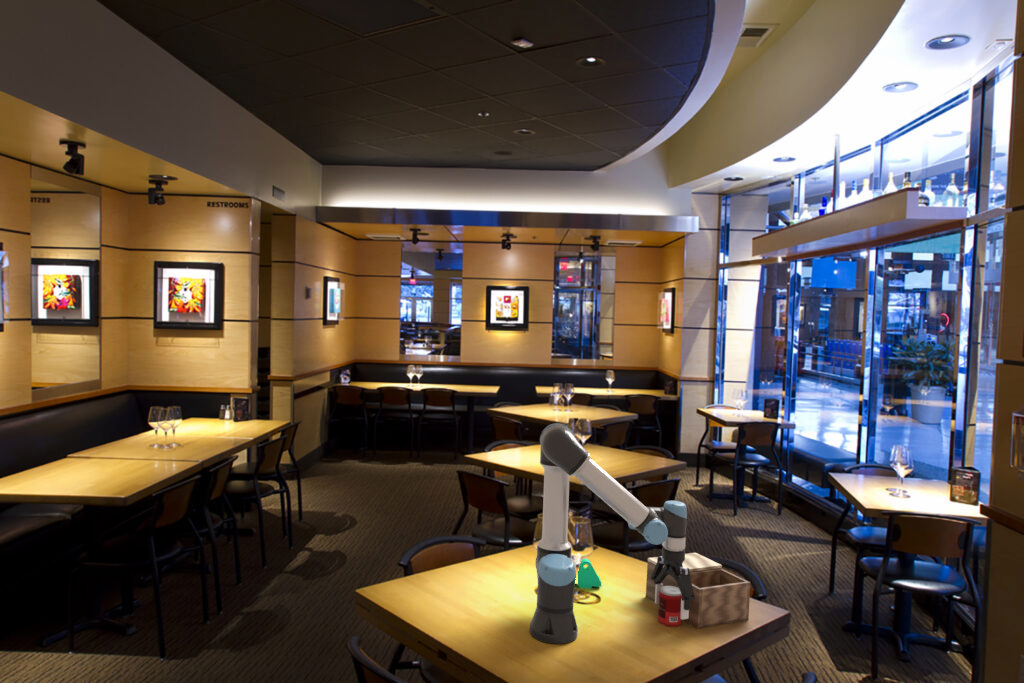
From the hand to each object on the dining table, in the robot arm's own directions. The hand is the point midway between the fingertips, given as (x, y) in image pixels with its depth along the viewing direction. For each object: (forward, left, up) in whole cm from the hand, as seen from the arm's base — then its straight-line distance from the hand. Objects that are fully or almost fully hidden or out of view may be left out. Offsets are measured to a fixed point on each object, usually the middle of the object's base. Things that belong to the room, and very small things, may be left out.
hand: (671, 610), depth 223 cm
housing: (+17, +7, -4) cm, 19 cm away
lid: (+17, +14, +9) cm, 24 cm away
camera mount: (-10, +39, -4) cm, 40 cm away
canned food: (0, 0, -4) cm, 4 cm away
